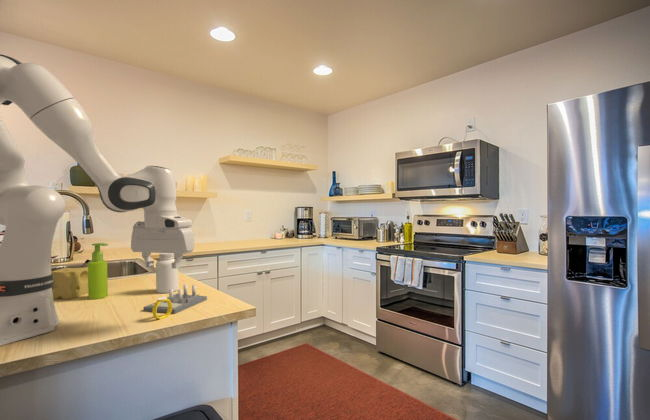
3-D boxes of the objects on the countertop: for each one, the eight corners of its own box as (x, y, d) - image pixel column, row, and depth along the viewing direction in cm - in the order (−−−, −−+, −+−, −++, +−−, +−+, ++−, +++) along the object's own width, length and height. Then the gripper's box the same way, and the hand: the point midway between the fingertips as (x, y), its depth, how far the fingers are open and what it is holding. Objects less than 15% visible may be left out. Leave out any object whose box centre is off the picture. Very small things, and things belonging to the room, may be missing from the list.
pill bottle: (151, 292, 130) (151, 253, 130) (169, 287, 137) (169, 251, 137) (165, 294, 127) (164, 254, 126) (183, 289, 134) (182, 252, 133)
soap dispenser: (100, 299, 120) (99, 244, 120) (84, 299, 121) (83, 244, 121) (113, 295, 126) (113, 242, 125) (98, 294, 127) (97, 242, 127)
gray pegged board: (175, 313, 103) (174, 296, 103) (143, 310, 107) (143, 294, 107) (206, 299, 119) (206, 285, 119) (178, 297, 122) (178, 283, 122)
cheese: (71, 299, 121) (71, 272, 121) (42, 299, 121) (41, 272, 121) (92, 292, 132) (91, 266, 131) (65, 292, 132) (64, 267, 132)
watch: (158, 322, 97) (156, 302, 96) (151, 321, 98) (149, 301, 97) (174, 314, 102) (173, 295, 102) (168, 313, 103) (166, 294, 103)
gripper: (124, 222, 99) (126, 268, 100) (182, 221, 94) (183, 271, 94) (141, 220, 105) (143, 264, 106) (196, 220, 100) (198, 266, 100)
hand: (162, 267), depth 100 cm, fingers open, 8 cm apart
